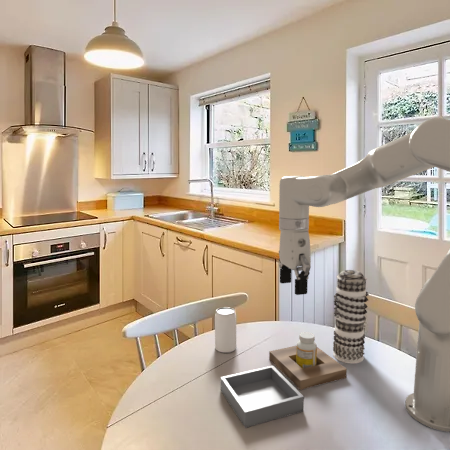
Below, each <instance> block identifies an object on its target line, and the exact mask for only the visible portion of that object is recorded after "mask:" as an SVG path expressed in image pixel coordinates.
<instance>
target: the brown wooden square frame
mask: <svg viewBox="0 0 450 450" xmlns="http://www.w3.org/2000/svg"><path fill="white" fill-rule="evenodd" d="M268 352H269V354H268V355H269V357H268V358H269V361H270V362H271V363H272V364H273V366H274V367H275V366H276V367H275V368H276V369H277V370H278V371H279V372H281V373H282V374H283V375H284V376H285V377H286V378H288V379H289V381H291V382H292V384H294V385H295V386H296V387H297V389H298V390H300V391H302V390H305V389H309V388H313V387H318V386H321V385H324V384H328V383H332V382H336V381H340V380H344V379H348V377H347V376H348V375H347V373H348V369H347V367H345V366H344V365H342V364H341V363H339V361H338V360H337V359H334V357H331V355H329V354H327V353H326V352H325V351H323V350H322V349H321V348H319V347H318V346H317V356H316V366H312V367H307V368H303V369H302V368H301V367H300V366H299V365H298V364H297V363H296V353H297V345H293V346H287V347H283V348H279V349H273V350H269V351H268Z"/></svg>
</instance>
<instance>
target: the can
mask: <svg viewBox="0 0 450 450" xmlns="http://www.w3.org/2000/svg"><path fill="white" fill-rule="evenodd" d="M214 347H215V350H216V351H217V352H219V353H222V354H230V353H232V352H234V351H235V350H236V349H237V314H236V312H235V308H233V307H228V306H224V307H223V306H222V307H219V308H217V309H216V310H215V315H214Z"/></svg>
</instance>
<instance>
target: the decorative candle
mask: <svg viewBox="0 0 450 450" xmlns="http://www.w3.org/2000/svg"><path fill="white" fill-rule="evenodd" d="M336 278H337V285H336V293H335V295H333V298H334V300H333V305H334V307H333V309H334V313H333V315H334V318H335V325H334V331H333V335H334V336H333V343H332V345H333V347H332V351H333V352H332V354H333V358H335V360H336V361H338V362H343V363H345V364H359V363H362V362H363V361H364V358H365V357H364V355H365V352H364V351H365V341H366V340H365V339H366V335H365V329H364V327H365V325H364V323H365V322H366V319H367V317H366V316H365V315H366V314H367V313H368V311H367V308H368V304H366V303H367V302H369V299H368V296H369V292H368V291H367V289H366V286H367V280H368V278H367V277H366V276H364V274H363V273H362V272H361V271H358V270H354V269H353V270H352V269H346V270H342V271H341V272H340V273H339V274H337V275H336Z"/></svg>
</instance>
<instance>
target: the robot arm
mask: <svg viewBox="0 0 450 450" xmlns="http://www.w3.org/2000/svg"><path fill="white" fill-rule="evenodd" d="M432 168H438V169H440V170H442V171H446V172H450V119H446V118H441V117H438V118H436V117H435V118H430V119H427V120H424V121H423V122H421V123H420V124H418V125H417V126H416V127H415V129H414V130H413V131H411V132H409V133H406V134H405V135H403V136H400V137H399V138H396V139H394V140H392V141H391V140H390V141H389V142H387V143H385V144H381V145H380V146H378V147H376V148H374V149H372V150H370V151H369V152H368V153H367V154H366V156H364V157H363V158H362V159H361V160H359V161H358V162H356V163H354V164H352V165H350V166H348V167H345V168H343V169H341V170H338V171H336V172H333V173H332V174H322V175H315V176H314V175H313V176H302V175H288V176H287V175H286V176H283V177H281V178H280V180H279V184H278V185H279V186H278V187H279V190H278V191H279V192H278V194H279V195H278V196H279V198H278V199H279V200H278V202H279V203H278V205H279V206H278V208H279V209H278V210H279V211H278V215H279V218H278V230H279V231H280V235H279V236H280V237H279V246H278V247H279V248H278V249H279V250H278V256H279V258H278V261H279V283H280V284H289V283H292V271H294V275H295V277H296V278H295V279H294V294H295V296H299V295H301V296H302V295H307V294H308V283H309V282H308V281H309V277H310V271H311V267H312V266H311V264H312V263H311V262H312V260H311V256H312V255H311V241H310V233H309V228H310V227H309V226H310V207H312V208H313V207H315V208H324V207H328V206H331V205H335V204H338V203H341V202H344V201H346V200H349V199H352V198H354V197H357V196H359V195H361V194H364V193H366V192H369V191H372V190H376V189H379V188H384V187H386V186H389V185H392V184H394V183H397V182H399V181H402V180H403V179H406V178H409V177H413V176H415V175H417V174H419V173H422V172H426V171H428V170H431V169H432ZM414 304H415V305H414V310H415V316H416V317H417V320H418V321H419V323H418V331H417V344H416V356H415V357H416V358H415V370H414V371H415V372H414V382H413V383H414V384H413V392H412V393H410V394H409V395H407V397H406V398H405V400H404V406H405V407H404V408H405V409H406V411H407V413H408V414H409V415H410V416H411V417H412V418H413V420H415V421H418V422H419V423H420V424H422V425H423V426H426V427H429V428H431V429H434V430H436V431H442V432H445V433H446V432H448V433H450V247H449V248H448V251H447V252H446V254H445V256H444V257H443V259H442V260H441V262H440V263H439V265H438V267H437V268H436V270H435V271H434V273H433V274H432V275H431V277H429V278H428V279H427V280H426V281H425V282H424V284H423V285H422V287H421V289H420V291H419V293H418V296H417V297H416V300H415V303H414Z"/></svg>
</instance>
